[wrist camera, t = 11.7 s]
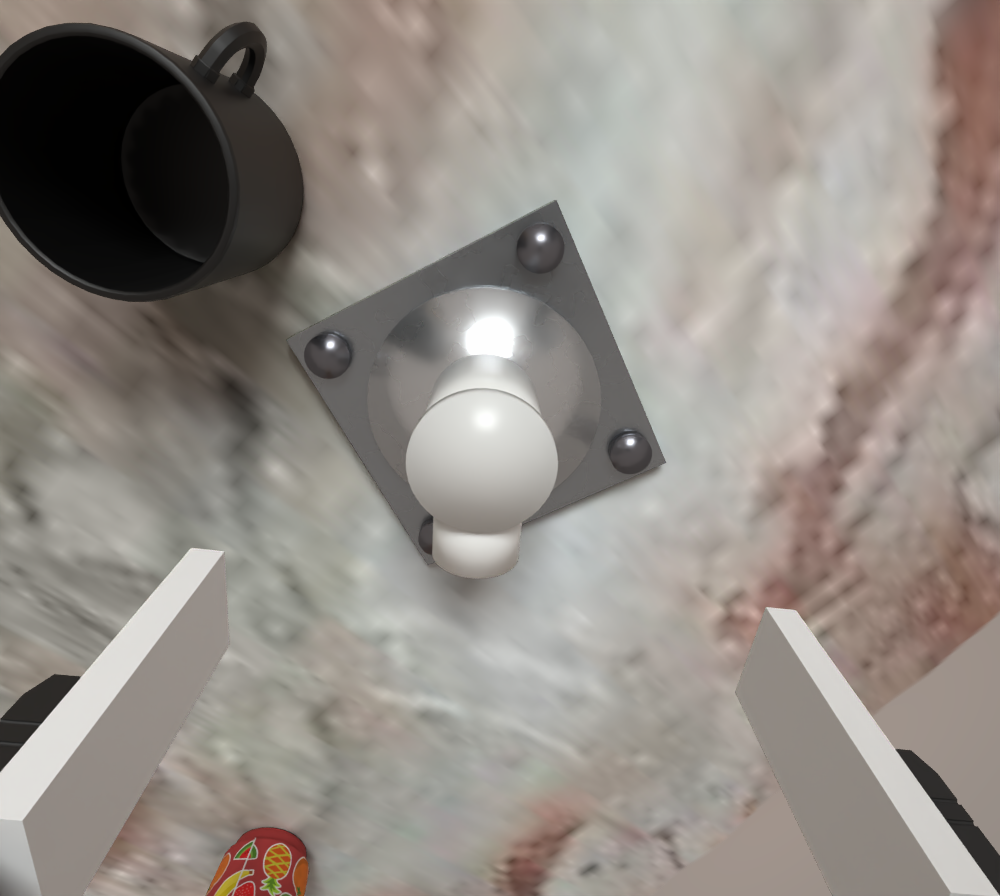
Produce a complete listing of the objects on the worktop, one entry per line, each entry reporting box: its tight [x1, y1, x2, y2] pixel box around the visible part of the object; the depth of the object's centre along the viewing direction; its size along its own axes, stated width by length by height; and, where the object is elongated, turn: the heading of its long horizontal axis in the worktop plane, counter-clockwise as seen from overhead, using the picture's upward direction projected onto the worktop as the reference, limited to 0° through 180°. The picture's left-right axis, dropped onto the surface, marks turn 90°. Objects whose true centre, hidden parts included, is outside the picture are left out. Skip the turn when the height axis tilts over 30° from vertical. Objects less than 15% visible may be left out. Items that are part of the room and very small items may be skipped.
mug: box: [0, 22, 303, 302], centre depth 26 cm, size 9×12×9 cm
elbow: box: [406, 354, 558, 579], centre depth 31 cm, size 9×7×8 cm
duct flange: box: [286, 200, 666, 565], centre depth 35 cm, size 16×16×2 cm
